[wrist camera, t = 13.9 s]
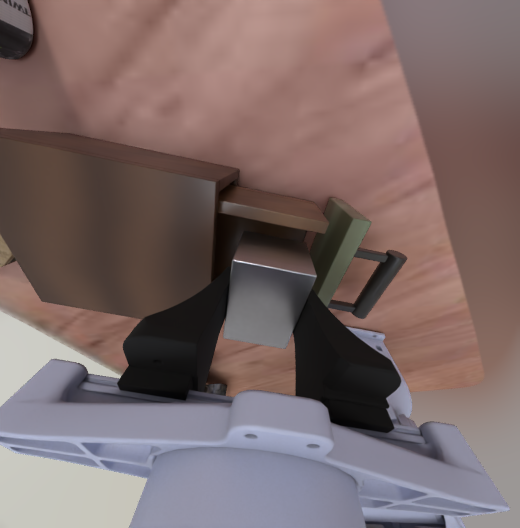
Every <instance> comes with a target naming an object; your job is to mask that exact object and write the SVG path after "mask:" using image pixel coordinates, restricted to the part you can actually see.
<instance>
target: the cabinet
mask: <svg viewBox="0 0 520 528" xmlns="http://www.w3.org/2000/svg"><path fill="white" fill-rule="evenodd" d="M238 176H239V169H236V168H232V167H227V166H222V165H217V164H213V163H208V162H203V161H198V160H194V159H189V158H184V157H179V156H175V155H170V154H165V153H160V152H156V151H151V150H146V149H141V148H137V147H132V146H127V145H123V144H118V143H113V142H108V141H104V140H99V139H94V138H89V137H85V136H80V135H75V134H70V133H58V132H45V131H32V130H19V129H6V128H0V235H1V236H2V238H3V240H4V241H5V243H6V244H7V246H8V248H9V249H10V251H11V252H12V254H13V256H14V257H15V259H16V261H17V262H18V264H19V265H20V267H21V269H22V270H23V272H24V273H25V275H26V277H27V278H28V280H29V282H30V283H31V285H32V286H33V288H34V290H35V291H36V293H37V295H38V296H39V298H40V299H41V301H42V302H47V303H53V304H59V305H64V306H70V307H76V308H81V309H87V310H93V311H98V312H104V313H110V314H115V315H121V316H127V317H132V318H138V319H143V318H144V317H146V316H149V315H152V314H155V313H158V312H160V311H163V310H166V309H168V308H170V307H173V306H175V305H177V304H179V303H181V302H183V301H185V300H187V299H189V298H190V297H192V296H194V295H195V294H197V293H198V292H200V291H201V290H203V289H204V288H205V287H206V286H208V285H209V284H210V283H211V282H213V281H214V264H215V247H216V230H217V213H218V196H219V192H220V191H221V190H222V189H224V188H225V187H226V186H228V185H234V186H237V185H238Z"/></svg>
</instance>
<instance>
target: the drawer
mask: <svg viewBox="0 0 520 528" xmlns="http://www.w3.org/2000/svg"><path fill="white" fill-rule="evenodd" d="M370 225H371V221H370V220H369V219H367V218H366V217H364V216H363V215H362V214H360V213H359V212H358V211H356V210H355V209H354V208H352V207H351V206H350V205H348V204H347V203H346V202H344V201H343V200H340V199H335V198H329V201H328V204H327V207H326V209H325V212H324V215H323V214H322V212H321V211H320V210H319V208H318V207H317V205H316V204H315V203H314V202H311V201H306V200H301V199H296V198H291V197H287V196H282V195H277V194H272V193H267V192H262V191H258V190H253V189H248V188H243V187H238V186H234V185H228V186H226V187H225V188H224V189H222V190H221V191H220V192H219V196H218V213H217V230H216V247H215V264H214V280H215V279H216V278H217V277H218V276H219V275H220V274H221V273H222V272H223V271H224V270H225V269H226V268H227V267H228V266H230V267H232V260H233V257H234V254H235V252H236V249H237V247H238V244H239V241H240V239H241V236H242V234H243V231H249V232H254V233H259V234H264V235H269V236H274V237H279V238H284V239H289V240H294V241H299V242H303V241H304V238H305V235H306V232H307V231H312V232H317V233H316V236H315V239H314V241H313V244H312V247H311V249H310V252H309V254H310V257H311V260H312V263H313V266H314V269H315V272H316V275H317V277H316V279H315V282H314V284H313V286H312V289H313V290H314V292H315V293H316V294H317V296H318V297H319V298H320V300H321V301H322V302H323V303H324V305H325V306H326V307H327V308H331V309H337V310H342V311H347V312H352V314H353V315H354V316H356V317H358V318H361V319H364V318H366V316H367V315H368V313H369V312H370V311H371V309H372V308H373V306H374V305H375V304H376V302H377V301H378V299H379V298H380V297H381V295H382V294H383V292H384V291H385V290H386V288H387V287H388V285H389V284H390V283H391V281H392V280H393V278H394V277H395V276H396V274H397V273H398V271H399V270H400V269H401V267H402V266H403V264H404V263H405V262H406V260H407V257H406V256H405V255H404V254H402V253H400V252H397V251H394V250H388V251H387V252H386V253H382V252H377V251H372V250H367V249H362V248H358V247H359V246H360V244H361V242H362V240H363V238H364V236H365V234H366V232H367V230H368V229H369V227H370ZM353 257H358V258H363V259H368V260H373V261H378V262H380V263H379V264H378V266H377V268H376V269H375V271H374V272H373V274H372V276H371V277H370V279H369V280H368V282H367V284H366V285H365V287H364V288H363V290H362V292H361V293H360V295H359V296H358V298H357V300H356V301H355V303H354V304H352V303H347V302H341V301H336V300H331V299H332V297H333V295H334V293H335V291H336V289H337V287H338V285H339V284H340V282H341V280H342V278H343V276H344V274H345V272H346V270H347V268H348V266H349V265H350V263H351V261H352V259H353Z"/></svg>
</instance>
